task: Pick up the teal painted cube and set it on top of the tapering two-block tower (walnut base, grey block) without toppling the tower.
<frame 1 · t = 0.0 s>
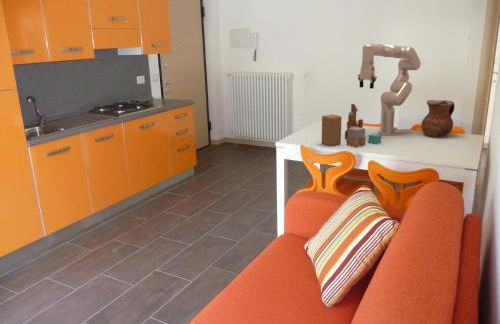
hand: (366, 87, 287), 37 cm above the table, tool pointing down, fingers open, 9 cm apart
wooden toy: (353, 137, 301), on the table
tower mid: (356, 137, 279), point 6 cm above the table, touching tower base
tower base: (355, 145, 281), on the table, touching tower mid
teal cube: (374, 143, 285), on the table
jug: (436, 135, 300), on the table
wooden block: (331, 144, 287), on the table
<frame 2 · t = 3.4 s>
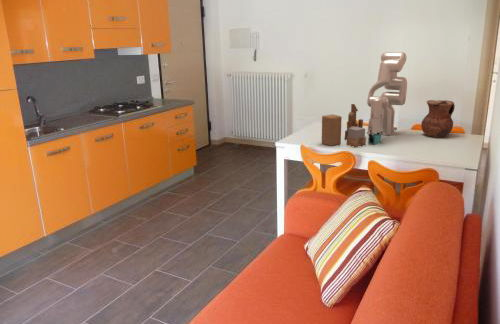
hand: (374, 141, 284), 1 cm above the table, tool pointing down, fingers closed on teal cube, 6 cm apart
teal cube: (374, 143, 285), on the table, touching gripper
everything else where it was.
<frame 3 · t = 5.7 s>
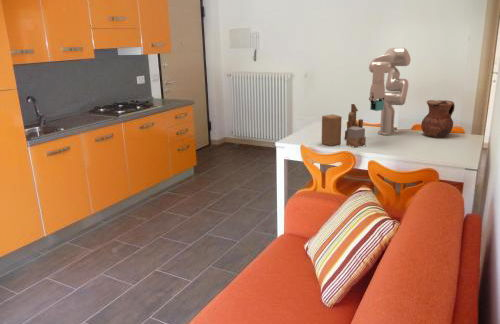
hand: (376, 108, 278), 24 cm above the table, tool pointing down, fingers closed on teal cube, 6 cm apart
teal cube: (376, 109, 278), point 23 cm above the table, touching gripper
everything else where it was.
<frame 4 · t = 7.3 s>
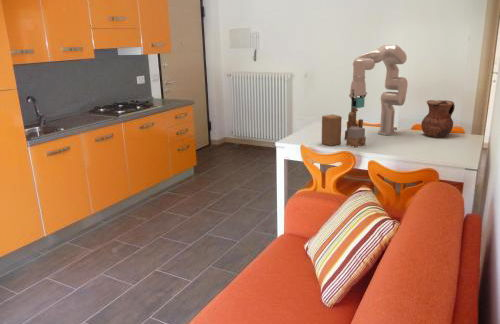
hand: (357, 105, 273), 27 cm above the table, tool pointing down, fingers closed on teal cube, 6 cm apart
teal cube: (357, 107, 273), point 26 cm above the table, touching gripper
everything else where it was.
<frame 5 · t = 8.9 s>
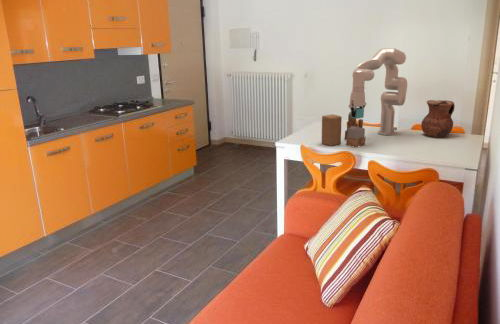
hand: (357, 116, 275), 20 cm above the table, tool pointing down, fingers closed on teal cube, 6 cm apart
teal cube: (357, 117, 275), point 19 cm above the table, touching gripper
everything else where it was.
when the fingers open (14 cm above the table, at t = 10.9 s): teal cube drops 1 cm, resting on tower mid.
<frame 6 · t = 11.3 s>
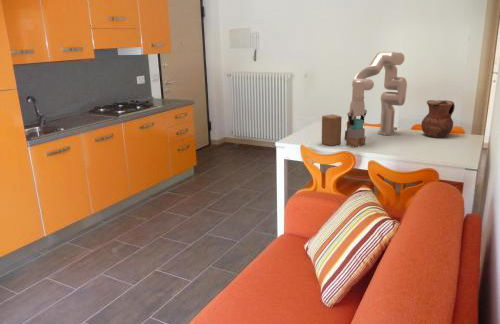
hand: (356, 124, 277), 15 cm above the table, tool pointing down, fingers open, 9 cm apart
tower mid: (355, 136, 279), point 6 cm above the table, touching teal cube, tower base
teal cube: (356, 128, 278), point 12 cm above the table, touching tower mid
everything else where it was.
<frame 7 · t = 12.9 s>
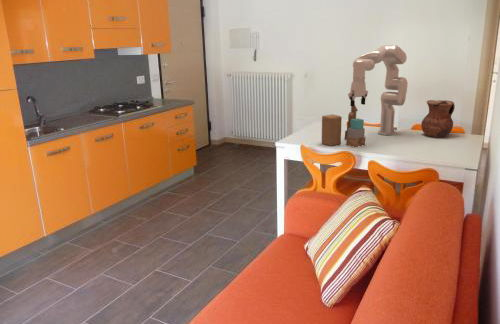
hand: (357, 105, 273), 28 cm above the table, tool pointing down, fingers open, 9 cm apart
tower mid: (355, 136, 279), point 6 cm above the table, touching tower base
teal cube: (356, 128, 278), point 12 cm above the table
everything else where it was.
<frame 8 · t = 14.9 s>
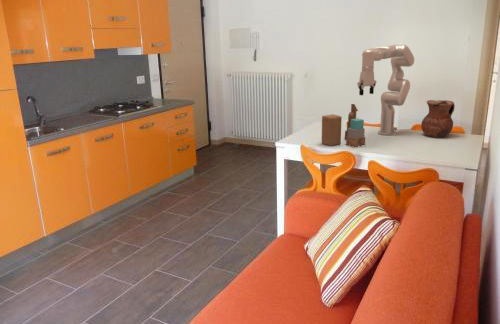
hand: (366, 94, 280), 33 cm above the table, tool pointing down, fingers open, 9 cm apart
tower mid: (355, 136, 279), point 6 cm above the table, touching teal cube, tower base
teal cube: (356, 128, 278), point 12 cm above the table, touching tower mid
everything else where it was.
at the end: teal cube 0.5 cm off-centre on the tower mid, point 6.0 cm above the tower mid's base; tower mid 0.2 cm from the tower base (horizontally); tower mid tilted 0° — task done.
